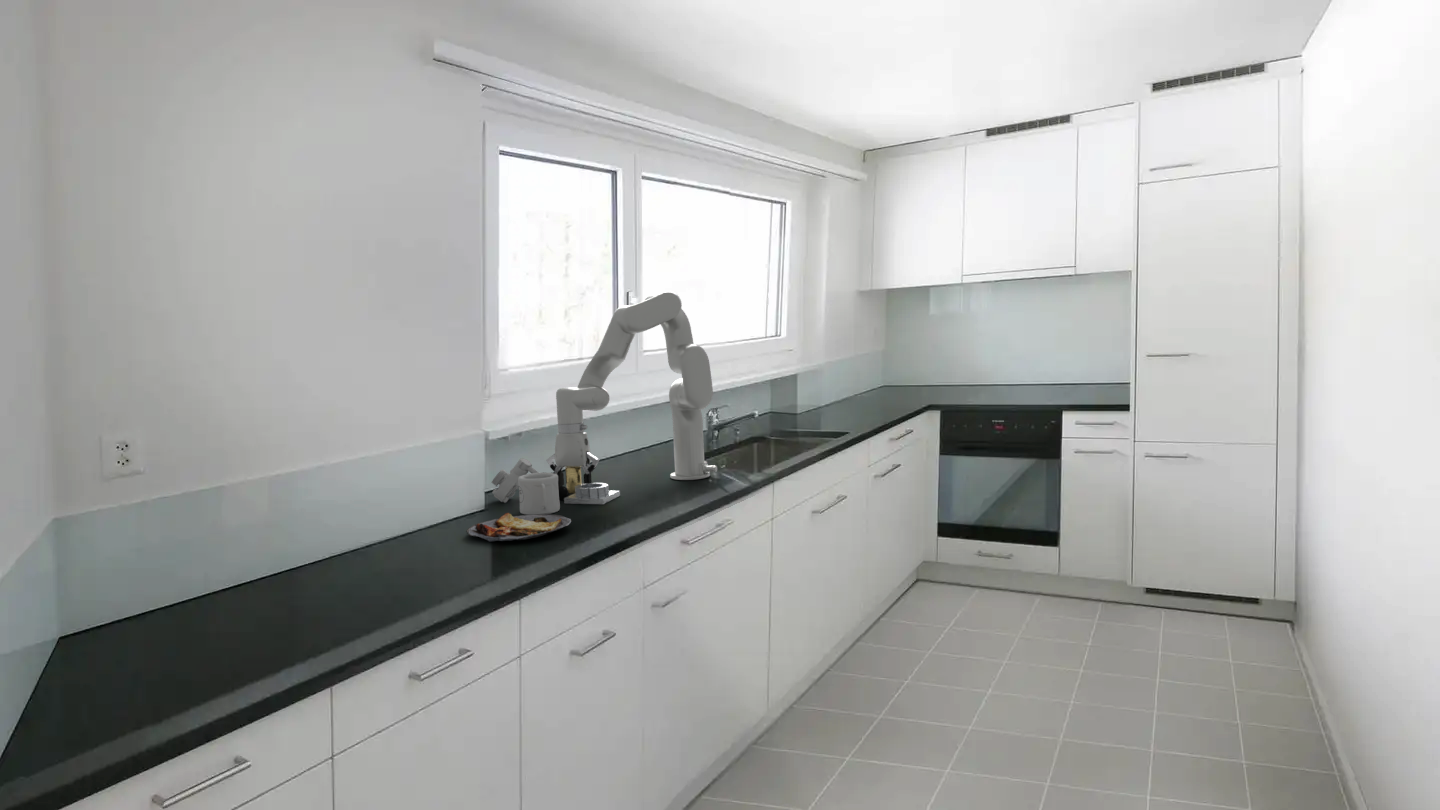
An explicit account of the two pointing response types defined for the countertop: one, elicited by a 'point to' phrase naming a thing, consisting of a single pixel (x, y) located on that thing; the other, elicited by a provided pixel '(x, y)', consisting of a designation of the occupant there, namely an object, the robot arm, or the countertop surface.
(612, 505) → the countertop surface
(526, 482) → the mug
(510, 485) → the valve
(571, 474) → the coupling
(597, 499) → the flange plate
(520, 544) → the countertop surface
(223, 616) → the countertop surface
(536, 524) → the food plate
